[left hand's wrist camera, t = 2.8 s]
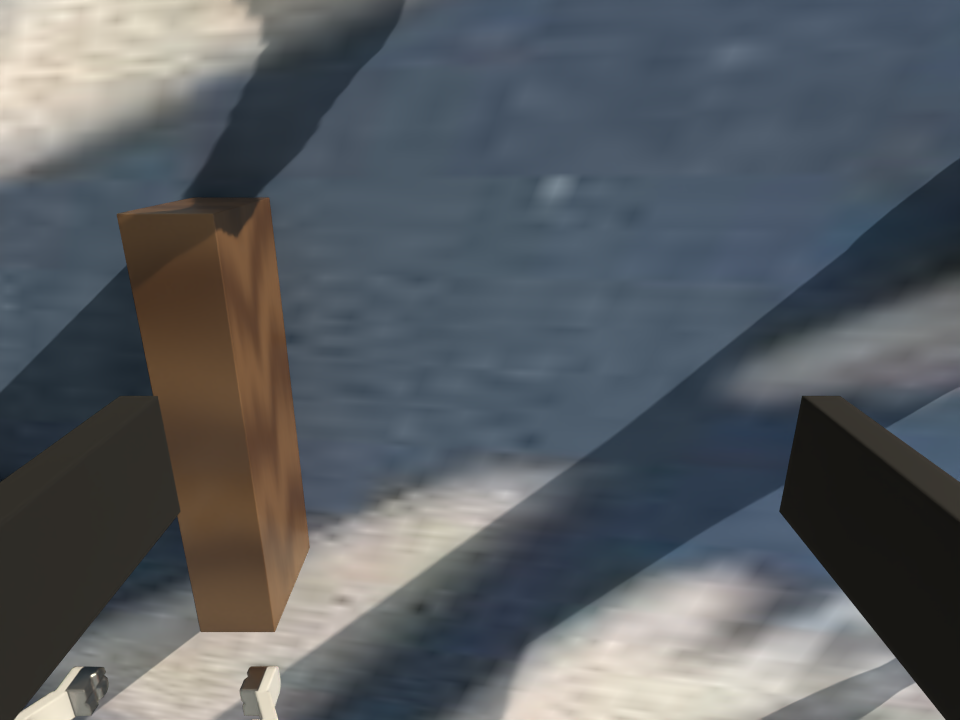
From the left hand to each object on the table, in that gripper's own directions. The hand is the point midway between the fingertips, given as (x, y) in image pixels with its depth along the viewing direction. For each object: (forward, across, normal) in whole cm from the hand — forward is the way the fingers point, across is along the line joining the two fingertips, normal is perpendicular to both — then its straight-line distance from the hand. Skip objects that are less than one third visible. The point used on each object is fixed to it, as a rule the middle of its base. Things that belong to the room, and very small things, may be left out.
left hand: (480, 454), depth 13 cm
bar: (+30, -16, -11) cm, 36 cm away
